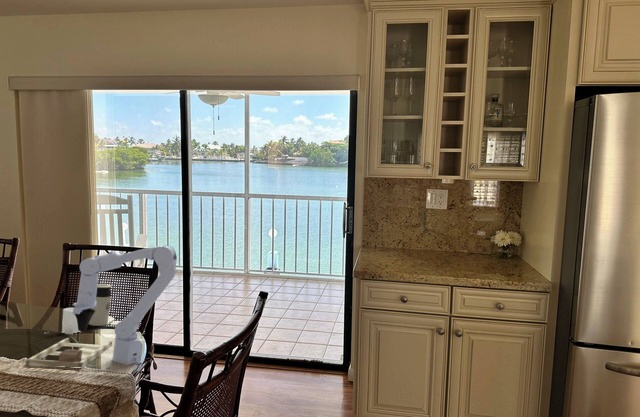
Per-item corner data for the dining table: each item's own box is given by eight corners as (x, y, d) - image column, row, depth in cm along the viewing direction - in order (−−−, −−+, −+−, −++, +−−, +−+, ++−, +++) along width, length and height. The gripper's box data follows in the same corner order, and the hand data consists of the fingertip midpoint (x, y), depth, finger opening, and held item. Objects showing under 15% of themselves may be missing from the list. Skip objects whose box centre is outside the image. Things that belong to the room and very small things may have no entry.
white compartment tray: (65, 345, 166) (66, 338, 166) (111, 348, 168) (112, 341, 168) (25, 368, 139) (26, 359, 139) (80, 371, 141) (81, 363, 141)
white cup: (72, 336, 178) (75, 312, 178) (55, 333, 180) (58, 309, 180) (85, 332, 186) (88, 309, 186) (70, 329, 187) (73, 306, 188)
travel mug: (84, 324, 198) (89, 285, 199) (97, 321, 206) (101, 283, 206) (99, 327, 196) (103, 287, 197) (111, 323, 204) (115, 285, 205)
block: (65, 360, 147) (66, 349, 147) (80, 361, 147) (82, 350, 147) (58, 365, 142) (59, 353, 142) (74, 366, 142) (75, 354, 142)
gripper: (84, 287, 159) (79, 324, 158) (65, 293, 145) (60, 334, 144) (104, 289, 160) (99, 326, 159) (87, 296, 145) (82, 336, 145)
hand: (82, 330), depth 152 cm, fingers closed
